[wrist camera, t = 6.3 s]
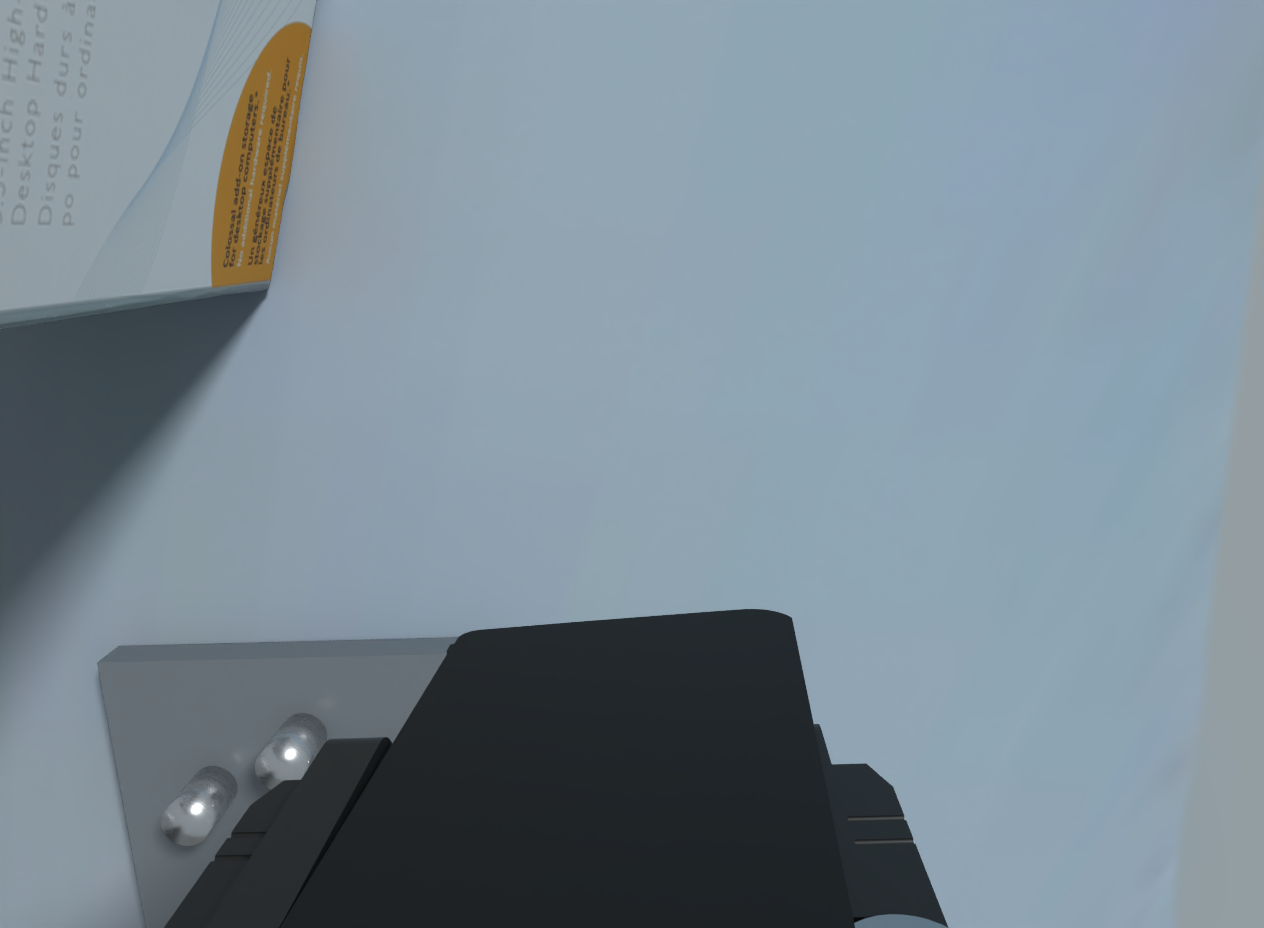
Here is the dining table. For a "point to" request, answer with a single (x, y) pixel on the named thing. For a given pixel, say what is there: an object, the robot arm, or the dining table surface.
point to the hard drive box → (143, 150)
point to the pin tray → (238, 735)
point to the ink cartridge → (597, 787)
